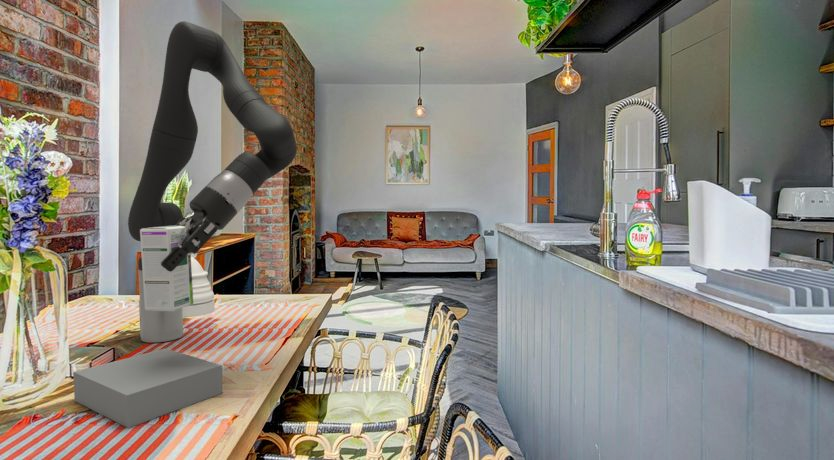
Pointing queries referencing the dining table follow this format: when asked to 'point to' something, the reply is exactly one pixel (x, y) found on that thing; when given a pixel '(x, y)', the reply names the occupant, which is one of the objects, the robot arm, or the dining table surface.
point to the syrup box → (164, 270)
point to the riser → (147, 385)
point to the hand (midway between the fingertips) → (158, 265)
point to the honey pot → (199, 292)
